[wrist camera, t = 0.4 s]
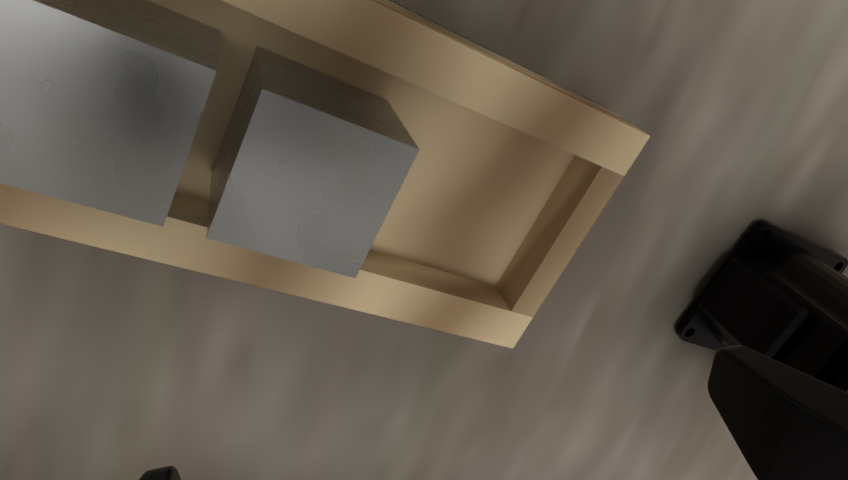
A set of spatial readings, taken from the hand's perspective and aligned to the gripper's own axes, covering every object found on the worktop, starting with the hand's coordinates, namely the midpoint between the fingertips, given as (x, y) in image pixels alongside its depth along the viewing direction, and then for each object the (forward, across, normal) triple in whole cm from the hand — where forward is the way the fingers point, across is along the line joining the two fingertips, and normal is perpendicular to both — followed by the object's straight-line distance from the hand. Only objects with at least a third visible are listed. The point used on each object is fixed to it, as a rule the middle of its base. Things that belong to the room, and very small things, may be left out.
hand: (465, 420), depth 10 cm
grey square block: (+11, +6, -4) cm, 13 cm away
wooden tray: (+12, +1, -1) cm, 12 cm away
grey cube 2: (+11, +2, -1) cm, 11 cm away
